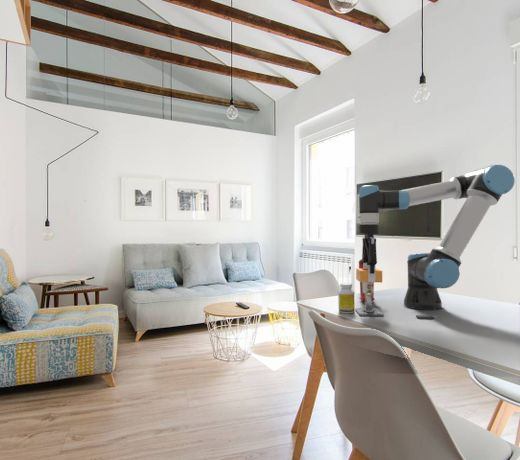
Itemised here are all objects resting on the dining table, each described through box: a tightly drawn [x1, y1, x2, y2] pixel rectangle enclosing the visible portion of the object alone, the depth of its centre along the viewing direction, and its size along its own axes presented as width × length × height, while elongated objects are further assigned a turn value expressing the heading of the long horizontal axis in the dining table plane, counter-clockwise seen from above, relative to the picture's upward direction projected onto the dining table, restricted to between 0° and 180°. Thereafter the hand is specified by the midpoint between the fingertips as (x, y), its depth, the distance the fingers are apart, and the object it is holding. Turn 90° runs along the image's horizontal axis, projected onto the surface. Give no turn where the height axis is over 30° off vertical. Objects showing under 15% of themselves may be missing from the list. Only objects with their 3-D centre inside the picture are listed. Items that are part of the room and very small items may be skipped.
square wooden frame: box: [355, 267, 383, 283], centre depth 144 cm, size 8×8×4 cm
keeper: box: [355, 293, 385, 318], centre depth 144 cm, size 11×9×8 cm
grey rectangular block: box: [415, 314, 436, 320], centre depth 136 cm, size 6×2×1 cm, turn 84°
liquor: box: [358, 258, 375, 303], centre depth 168 cm, size 7×7×28 cm
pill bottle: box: [337, 282, 356, 314], centre depth 147 cm, size 6×6×12 cm
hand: (369, 280), depth 144 cm, fingers closed on square wooden frame, 8 cm apart
